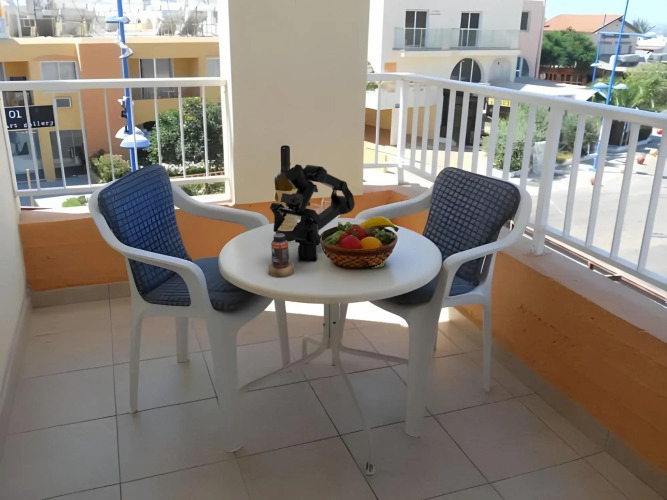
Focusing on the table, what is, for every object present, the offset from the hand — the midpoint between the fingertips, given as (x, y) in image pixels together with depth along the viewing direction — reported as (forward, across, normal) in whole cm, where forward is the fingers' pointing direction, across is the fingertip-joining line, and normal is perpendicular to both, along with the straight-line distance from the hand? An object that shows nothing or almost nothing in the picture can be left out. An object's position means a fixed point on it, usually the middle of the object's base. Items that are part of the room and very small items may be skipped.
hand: (284, 233), depth 201 cm
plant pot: (-6, +24, +25) cm, 35 cm away
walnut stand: (+11, 0, +8) cm, 14 cm away
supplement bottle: (+10, 0, +6) cm, 12 cm away
